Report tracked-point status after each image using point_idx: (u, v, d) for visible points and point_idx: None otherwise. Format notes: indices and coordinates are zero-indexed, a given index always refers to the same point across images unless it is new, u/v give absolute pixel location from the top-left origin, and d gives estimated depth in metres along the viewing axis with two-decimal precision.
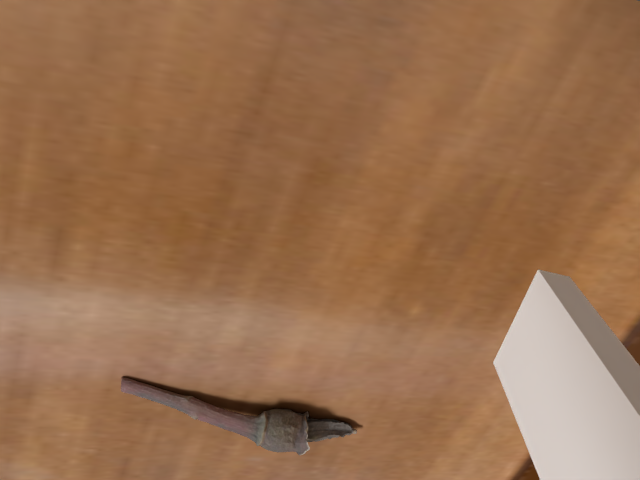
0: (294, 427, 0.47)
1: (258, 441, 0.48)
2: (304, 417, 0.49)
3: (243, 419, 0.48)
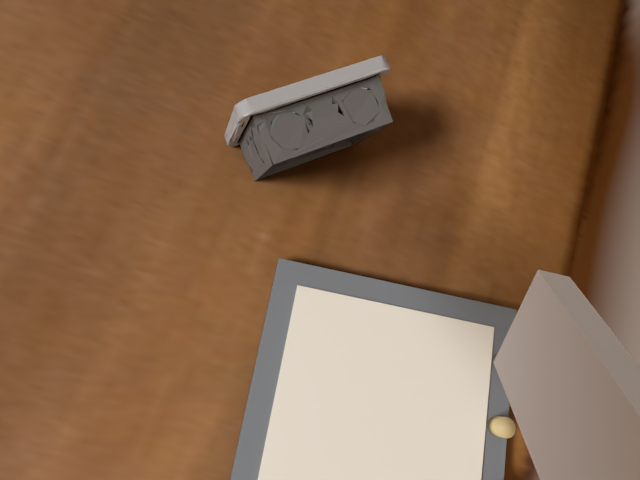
0: None
1: None
2: None
3: None
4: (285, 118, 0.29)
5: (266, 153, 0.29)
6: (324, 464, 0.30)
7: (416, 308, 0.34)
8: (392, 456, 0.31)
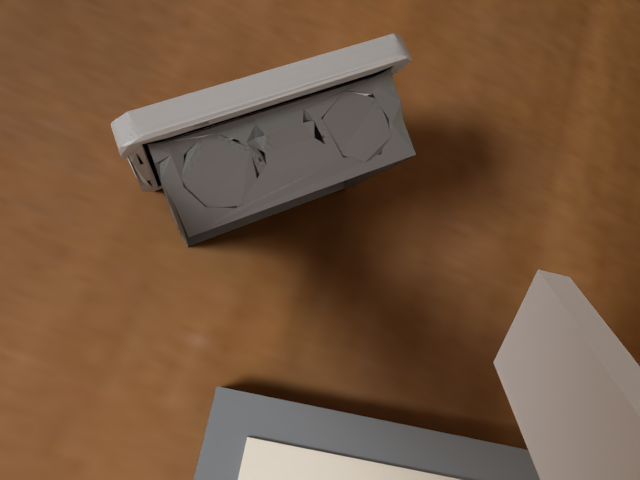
0: None
1: None
2: None
3: None
4: (212, 149, 0.15)
5: (176, 215, 0.15)
6: None
7: (453, 473, 0.19)
8: None
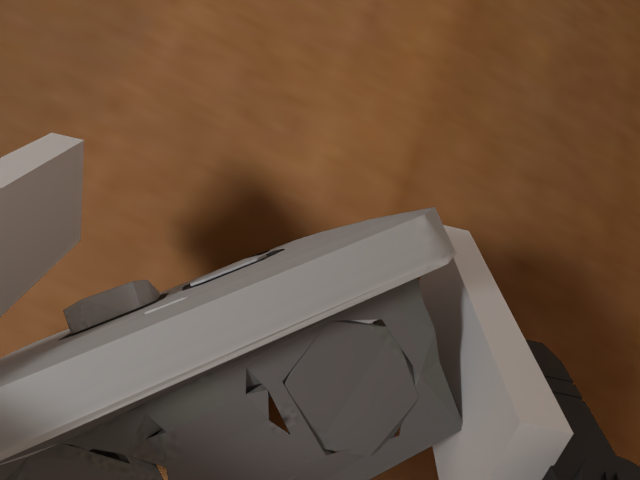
0: None
1: None
2: None
3: None
4: (52, 479, 0.07)
5: None
6: None
7: None
8: None
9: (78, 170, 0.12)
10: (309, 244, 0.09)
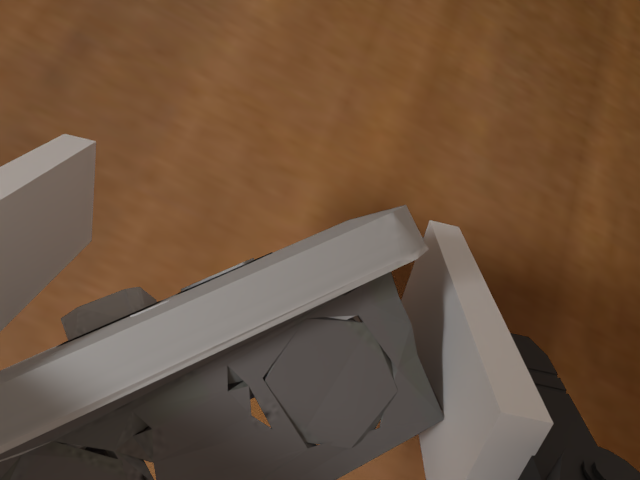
0: None
1: None
2: None
3: None
4: (45, 476, 0.08)
5: None
6: None
7: None
8: None
9: (90, 171, 0.12)
10: (289, 246, 0.10)
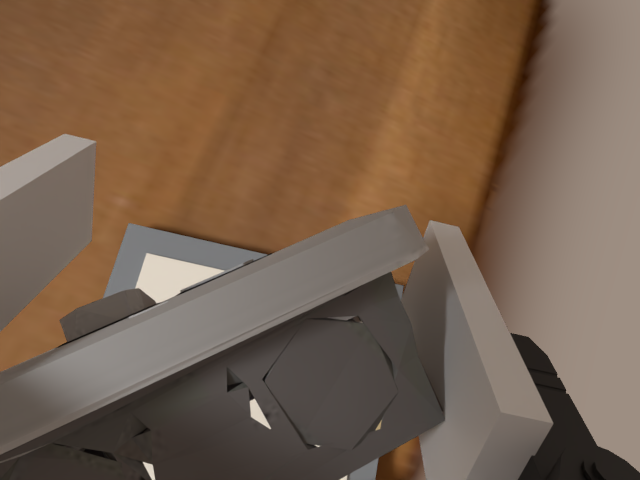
0: None
1: None
2: None
3: None
4: (43, 478, 0.08)
5: None
6: None
7: None
8: None
9: (90, 171, 0.12)
10: None
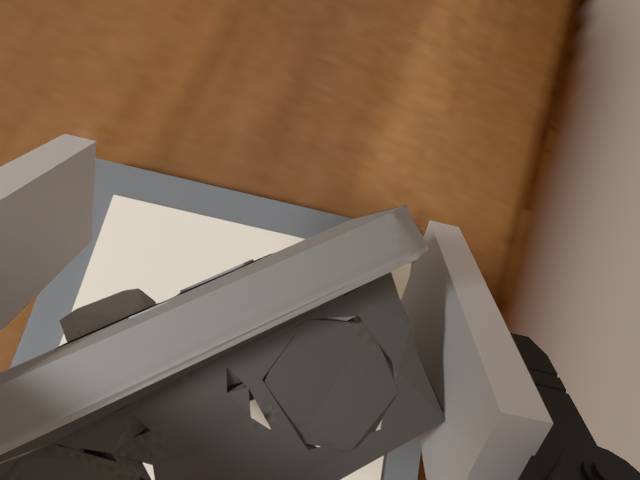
0: None
1: None
2: None
3: None
4: (43, 479, 0.08)
5: None
6: None
7: (294, 234, 0.23)
8: None
9: (90, 171, 0.12)
10: (288, 247, 0.10)
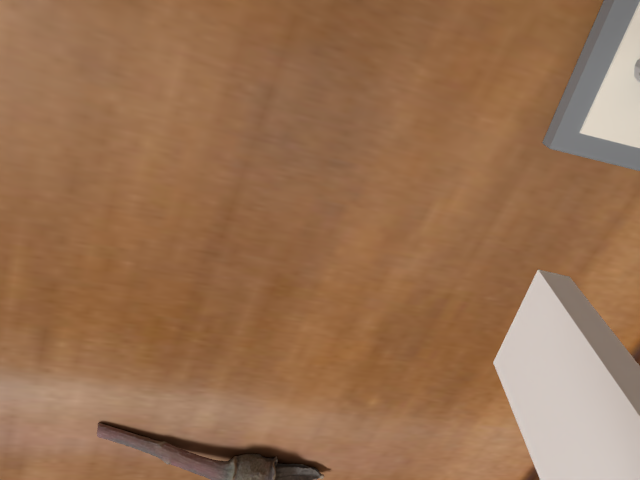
0: (262, 474, 0.49)
1: None
2: (272, 463, 0.51)
3: (213, 465, 0.50)
4: None
5: None
6: None
7: None
8: None
9: None
10: None
